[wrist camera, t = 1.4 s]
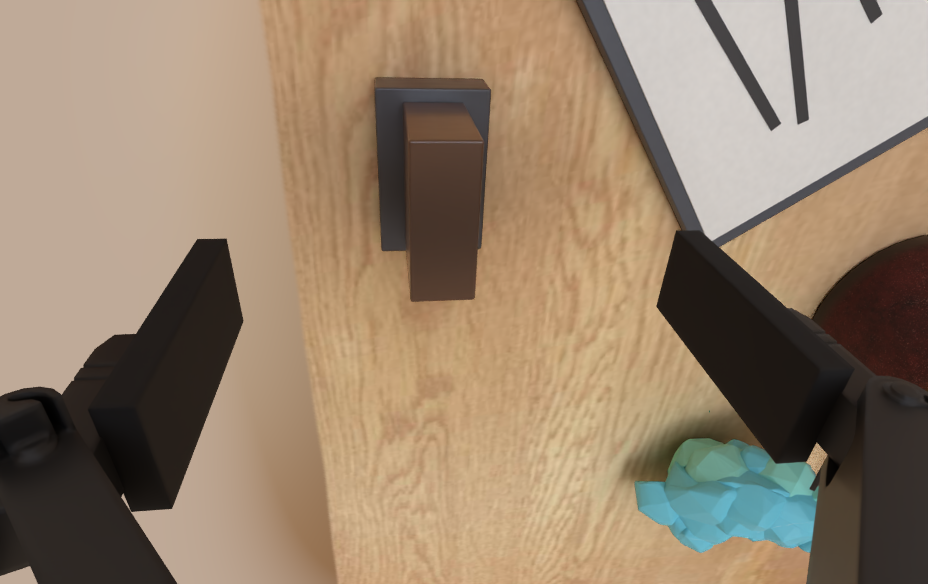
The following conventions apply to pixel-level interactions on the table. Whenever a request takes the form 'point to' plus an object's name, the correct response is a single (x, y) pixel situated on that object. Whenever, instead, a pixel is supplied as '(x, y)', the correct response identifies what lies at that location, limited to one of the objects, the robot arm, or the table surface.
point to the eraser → (433, 179)
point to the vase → (884, 312)
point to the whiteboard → (762, 95)
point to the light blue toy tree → (731, 496)
